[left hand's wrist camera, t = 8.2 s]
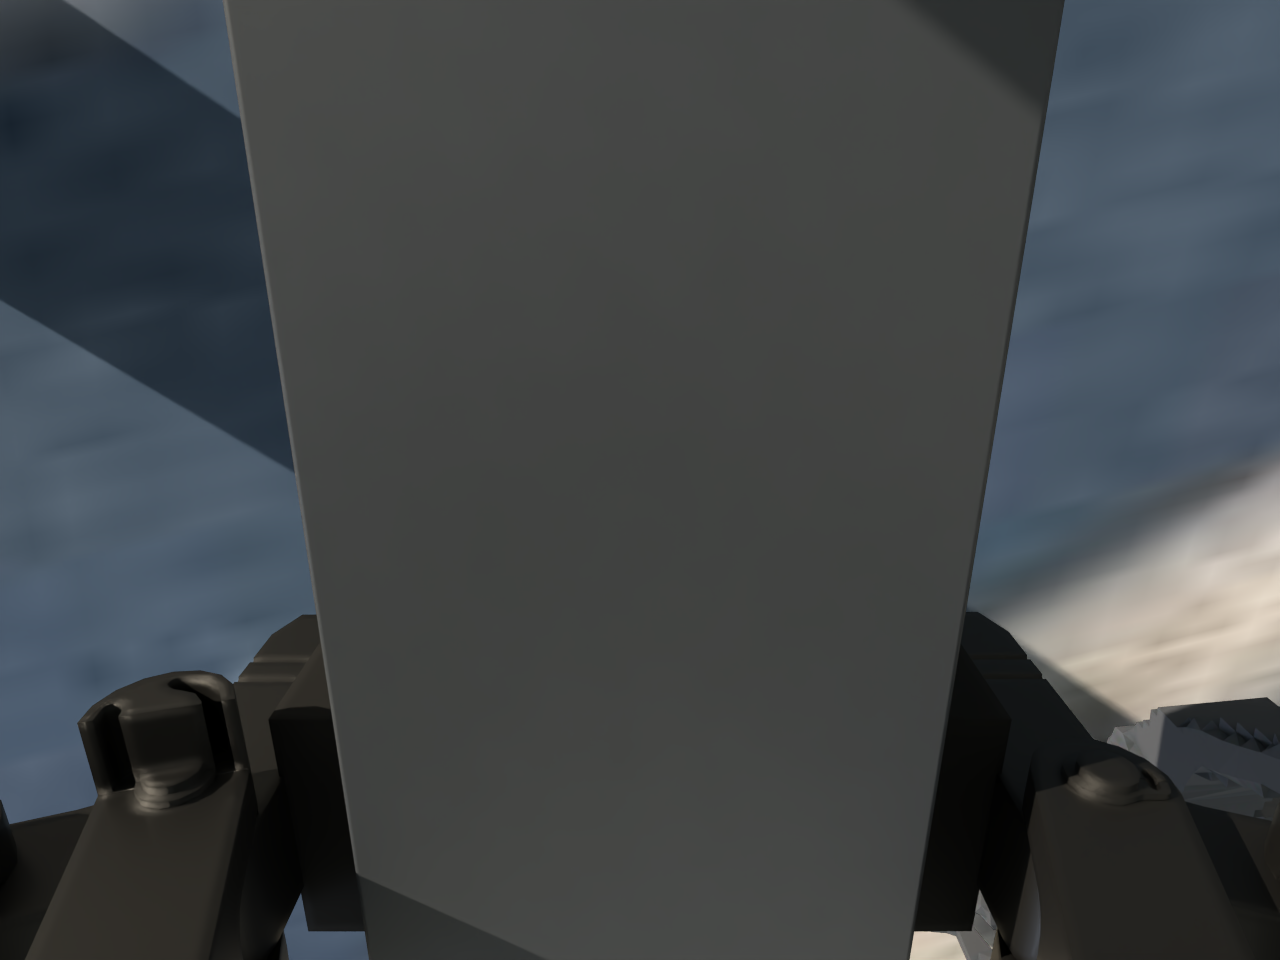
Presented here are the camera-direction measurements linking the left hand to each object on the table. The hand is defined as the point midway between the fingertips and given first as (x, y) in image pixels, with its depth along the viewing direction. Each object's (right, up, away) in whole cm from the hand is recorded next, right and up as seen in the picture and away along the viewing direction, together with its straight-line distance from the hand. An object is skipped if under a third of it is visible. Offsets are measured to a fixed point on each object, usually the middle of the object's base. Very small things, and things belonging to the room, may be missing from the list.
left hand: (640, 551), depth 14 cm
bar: (0, +8, -2) cm, 8 cm away
